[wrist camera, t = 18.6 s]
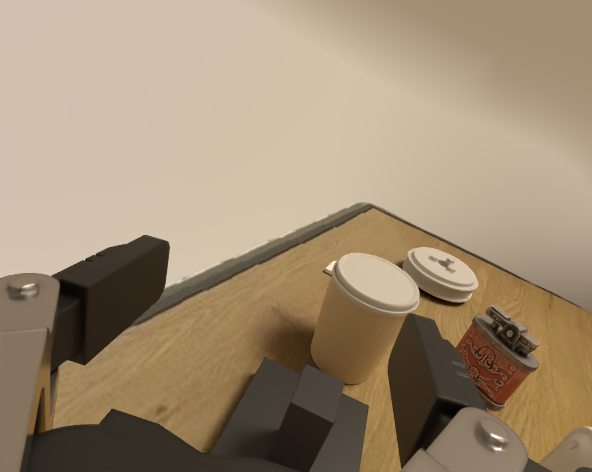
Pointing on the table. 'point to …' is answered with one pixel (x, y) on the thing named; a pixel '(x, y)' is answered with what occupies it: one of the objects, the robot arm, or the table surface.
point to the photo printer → (571, 452)
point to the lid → (440, 274)
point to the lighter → (497, 356)
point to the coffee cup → (361, 315)
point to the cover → (296, 421)
